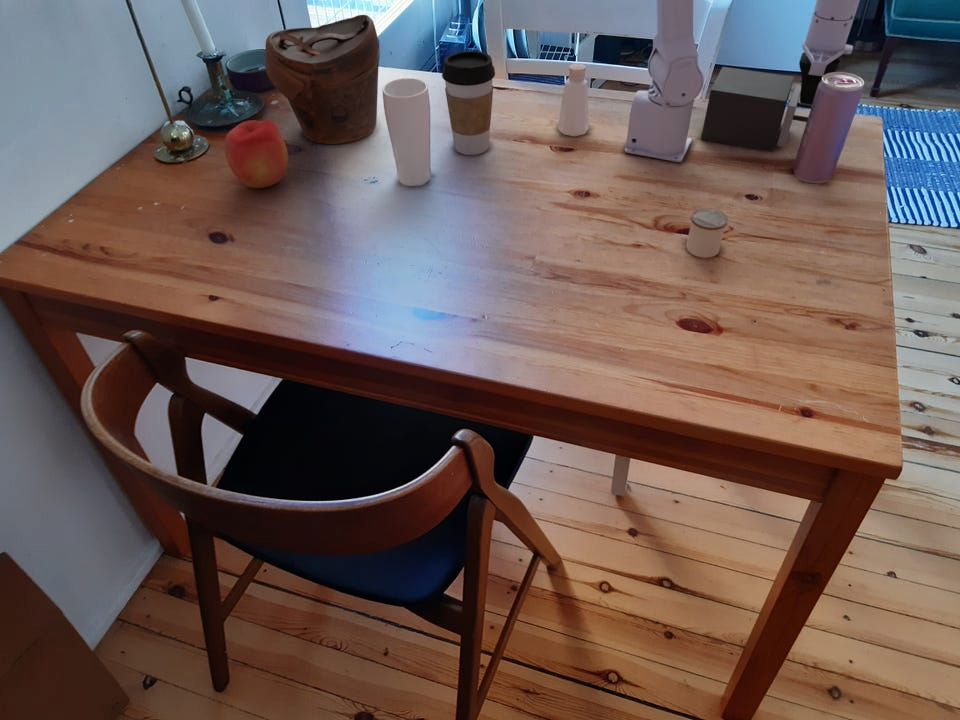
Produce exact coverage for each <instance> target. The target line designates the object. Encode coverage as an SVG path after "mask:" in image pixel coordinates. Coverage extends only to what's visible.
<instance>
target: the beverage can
mask: <svg viewBox="0 0 960 720" xmlns="http://www.w3.org/2000/svg"><path fill="white" fill-rule="evenodd" d="M864 86H865V81H864V78H862V77H860V76H859V75H856V74H853V73H849V72H845V71H844V72H843V71H835V72H832V73H828V74H825V75H824V76H823V77H822V80H821V82H820V83H819V85H818V88H817V91H816V94H815V97H814V101H813V104H812V107H811V109H810V111H809V114H808V116H807V117H808V120H807V122H805V126H804V129H803V132H802V137H801V139H800V143H799V146H798V149H797V152H796V155H795V159H794V162H793V165H792V172H793V175H794V176H795V177H796V178H797V179H798V180H800V181H801V182H805V183H809V184H823V183H826V182H828V181H829V180H830V179H832V177H833V176H834V173H835V171H836V168H837V165H838V162H839V161H840V157H841V154H842V152H843V149H844V146H845V143H846V140H847V138H848V135H849V132H850V129H851V126H852V124H853V121H854V118H855V115H856V112H857V110H858V107H859V105H860V102H861V98H862V97H863V93H864Z"/></svg>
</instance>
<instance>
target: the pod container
mask: <svg viewBox="0 0 960 720" xmlns="http://www.w3.org/2000/svg"><path fill="white" fill-rule="evenodd" d="M690 221H691V222H690V227H689V231H688V236H687V241H686V246H685V247H686V250H687V252H688V253H690V254H691V255H692V256H695V257H699V258H707V259H708V258H713V257H715V256H716V255H718V254H719V252H720V248H721V246H722V245H721V244H722V241H723V237H724V233H725V228H726V227H727V225H728V223H729V217H728V215H727V214H726V213H725V212H723V211H722V210H720V209H717V208H713V207H700V208H697V209H695V210H693V211H692V213H691V215H690Z"/></svg>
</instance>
